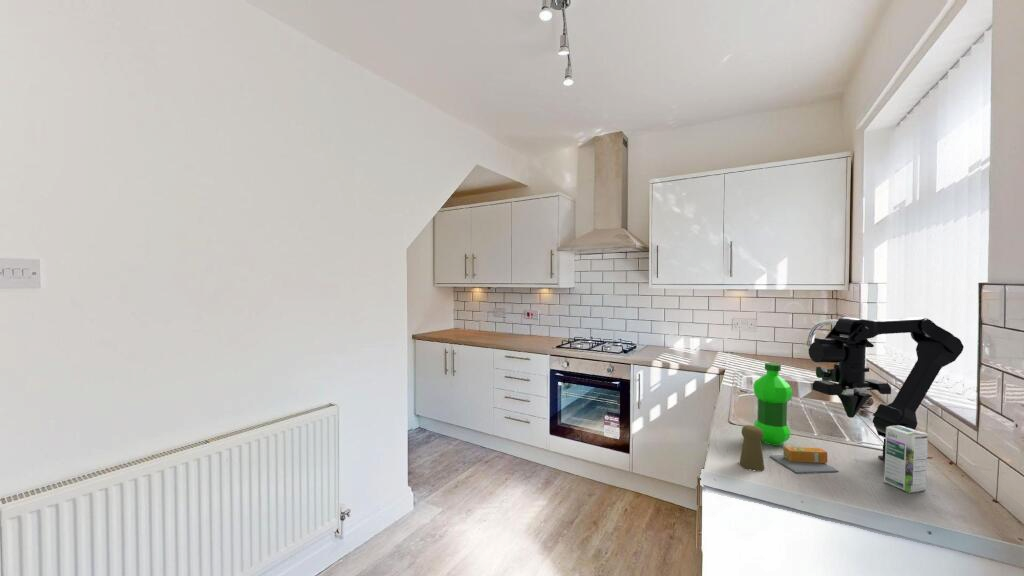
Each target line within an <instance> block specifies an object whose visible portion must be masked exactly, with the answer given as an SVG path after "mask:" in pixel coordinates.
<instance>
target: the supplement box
mask: <svg viewBox="0 0 1024 576" xmlns="http://www.w3.org/2000/svg"><path fill="white" fill-rule="evenodd" d="M782 455H784V457H785V458H787V459H788V460H789V461H791V462H811V463H826V464H827V463H828V451H826V450H824V449H823V448H821V447H806V446H805V447H804V446H803V447H802V446H783V454H782Z"/></svg>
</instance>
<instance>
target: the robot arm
mask: <svg viewBox="0 0 1024 576" xmlns="http://www.w3.org/2000/svg"><path fill="white" fill-rule="evenodd" d="M905 333H906V334H907V333H910V337H911V339H912V340H913V341H915V343H916V344H917V345H916V347H915V352H916V357H917V360H916V362H915V363H914V365H913V367H912V369H910V372H909V374H908V375H907V377H906V378H905V379H904V382H903V383H902V386H901V387H900V389H899V391H898V393H897V394H896V396H895V397H894V399H893V401H892V402H891V403H888V404H887V405H886V404H883V403H880V404H879V405H877V408H876V411H875V412H874V413H873V414H872V416H873V418H872V424H873V426H874V428H875V430H876V432H877V435H878V436H879V437H882V438H883V444H882V455H877V458H878V459H880V460H882V461H884V462H885V445H886V427H889V426H904V427H907V428H910V429H914V430H917V426H918V420H917V414H916V412H917V411H918V408H920V407H919V406H920V405H921V404H922V402H923V400H924V398H925V396H926V395H927V393H928V392H929V390H930V388H931V387H932V385H933V383H934V381H935V379H936V378H937V376H938V375H939V373H940V371H941V369H942V368H943V367H946V366H948V365H949V364H951V363H953V362H955V361H956V360H957V359H958V357H959V356H960V355H961V354H962V353H963V351H964V344H963V342H962V340H961V339H960V338H959V337H957V336H955V335H954V334H953V333H951V332H950V331H948V330H946V329H944V328H943V327H941V326H939V325H937V324H936V323H935V322H933V321H932V320H931V319H929V318H926V317H915V316H911V317H910V316H909V317H907V318H906V317H903V318H888V319H887V318H885V319H862V318H854V317H848V316H846V317H845V316H844V317H840V318H838V319H837V321H836V323H835V325H834V326H833V327H832V328H831V330H830V332H829V333H828V334H827V335H826V336H825V338H821V337H815V338H814V342H812V343H811V344H810V345H809V348H808V355H809V358H810V359H811V361H812V362H814V363H835V364H833V368H832V369H831V368H830V369H829V368H827V366H816V368H815V375H816V377H817V378H818V380H817V379H816V380H814V381H813V382H812V390H813V391H815V392H819V393H821V394H823V395H824V394H825V395H826V396H838V398H839V400H840V402H841V404H842V406H843V408H844V412H845V414H846V416H847V418H855V416H856V414H857V413H858V412H859V410H860V409H861V408H862V407H863V405H864V404H865V403H866V402H867V401H868V400H869V399H870V398H872V397H873V396H872V394H869V393H868V391H877V392H878V393H879V394H881V395H891V394H892V387H891V385H890V384H889V383H888V382H885V381H880V380H876V379H872V378H871V379H866V373H869V372H870V368H869V367H866V348H874V346H875V344H874V343H872V342H870V341H869V339H873V338H875V337H876V336H878V335H888V334H889V335H890V334H905ZM819 379H820V380H819Z"/></svg>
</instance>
